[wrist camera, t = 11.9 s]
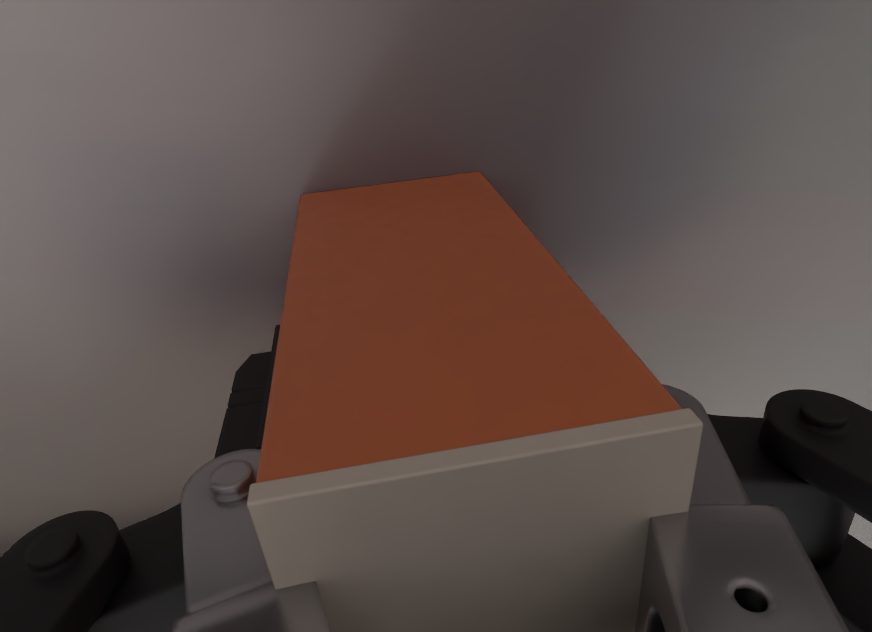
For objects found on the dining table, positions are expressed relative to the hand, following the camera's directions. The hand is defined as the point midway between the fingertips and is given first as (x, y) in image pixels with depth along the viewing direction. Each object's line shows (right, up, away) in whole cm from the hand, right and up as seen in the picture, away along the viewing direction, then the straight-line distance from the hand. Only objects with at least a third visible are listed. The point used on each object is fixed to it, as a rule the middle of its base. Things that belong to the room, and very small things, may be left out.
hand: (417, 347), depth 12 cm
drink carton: (0, +1, +2) cm, 2 cm away
